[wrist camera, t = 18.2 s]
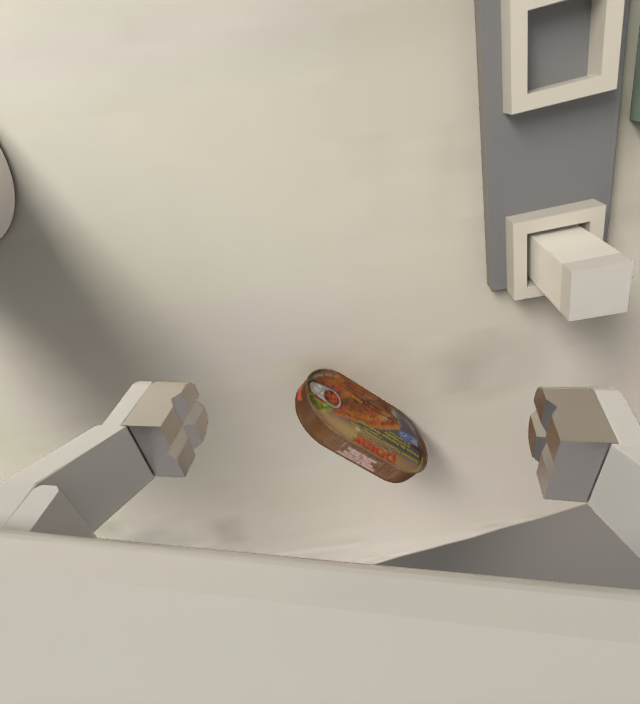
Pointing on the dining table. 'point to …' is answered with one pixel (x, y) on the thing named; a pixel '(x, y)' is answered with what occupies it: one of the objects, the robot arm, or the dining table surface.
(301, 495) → the dining table surface
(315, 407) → the tin
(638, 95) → the tray
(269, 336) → the dining table surface
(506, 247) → the board
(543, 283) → the block
